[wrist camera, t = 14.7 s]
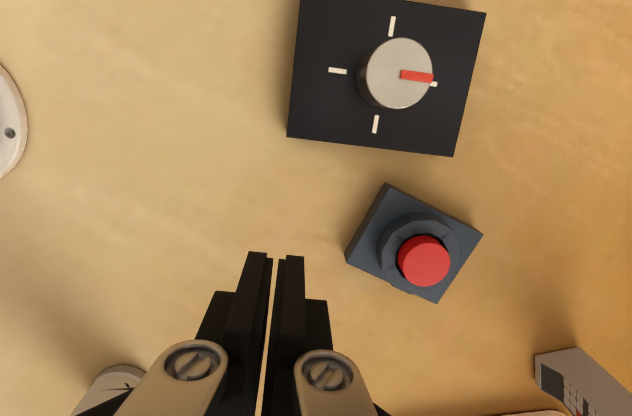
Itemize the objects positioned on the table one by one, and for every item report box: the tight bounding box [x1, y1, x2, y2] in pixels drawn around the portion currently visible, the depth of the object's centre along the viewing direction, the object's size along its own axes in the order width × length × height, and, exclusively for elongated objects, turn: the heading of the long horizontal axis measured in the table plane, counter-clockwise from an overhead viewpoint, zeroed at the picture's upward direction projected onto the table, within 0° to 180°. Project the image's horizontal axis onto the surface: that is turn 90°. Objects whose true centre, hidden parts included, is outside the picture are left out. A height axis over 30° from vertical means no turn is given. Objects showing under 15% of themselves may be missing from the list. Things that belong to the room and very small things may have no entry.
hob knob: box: [355, 37, 434, 109], centre depth 27 cm, size 4×4×5 cm
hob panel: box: [286, 0, 486, 157], centre depth 30 cm, size 14×11×3 cm
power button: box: [398, 235, 450, 287], centre depth 32 cm, size 4×4×2 cm
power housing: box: [344, 182, 483, 304], centre depth 34 cm, size 10×8×4 cm
